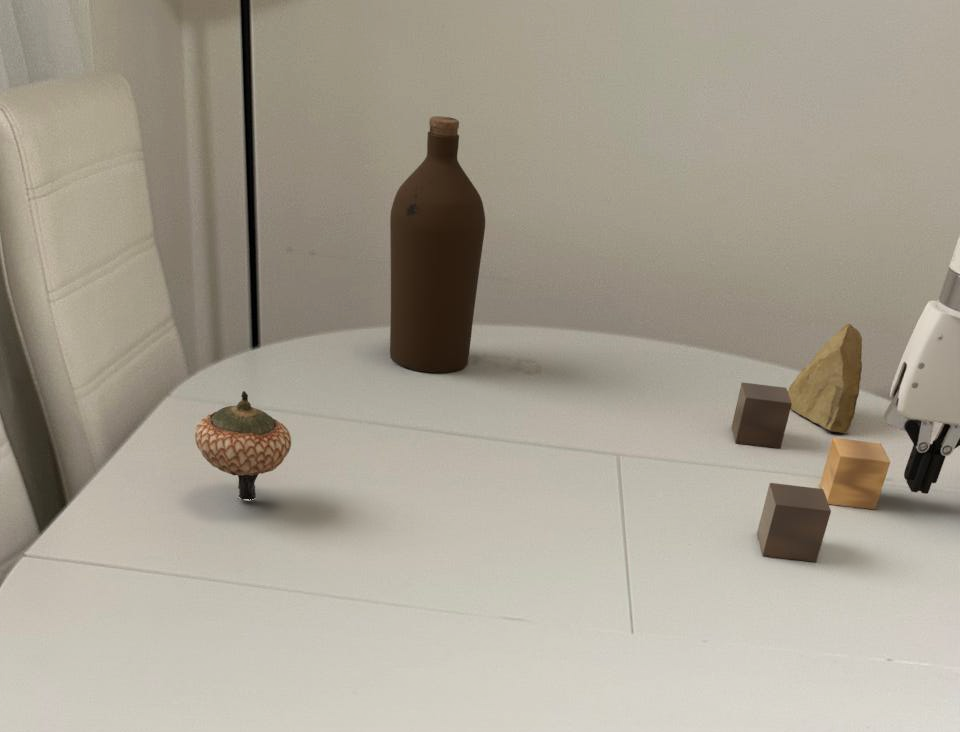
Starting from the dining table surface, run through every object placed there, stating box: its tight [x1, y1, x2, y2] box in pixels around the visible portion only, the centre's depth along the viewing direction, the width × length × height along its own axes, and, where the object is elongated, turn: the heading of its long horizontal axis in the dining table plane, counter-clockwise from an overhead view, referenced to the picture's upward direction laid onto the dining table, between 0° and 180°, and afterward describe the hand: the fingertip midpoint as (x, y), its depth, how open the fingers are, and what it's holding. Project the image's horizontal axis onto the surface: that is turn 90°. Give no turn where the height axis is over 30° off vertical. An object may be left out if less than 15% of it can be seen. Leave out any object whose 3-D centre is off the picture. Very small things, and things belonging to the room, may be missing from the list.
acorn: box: [194, 390, 292, 501], centre depth 106 cm, size 8×8×10 cm
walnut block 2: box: [756, 482, 832, 563], centre depth 111 cm, size 5×5×5 cm
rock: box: [787, 323, 863, 434], centre depth 139 cm, size 11×9×10 cm
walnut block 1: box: [731, 382, 792, 449], centre depth 133 cm, size 5×5×5 cm
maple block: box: [819, 437, 891, 510], centre depth 122 cm, size 5×5×5 cm
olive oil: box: [389, 115, 486, 373], centre depth 136 cm, size 11×11×25 cm
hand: (916, 487), depth 122 cm, fingers closed
